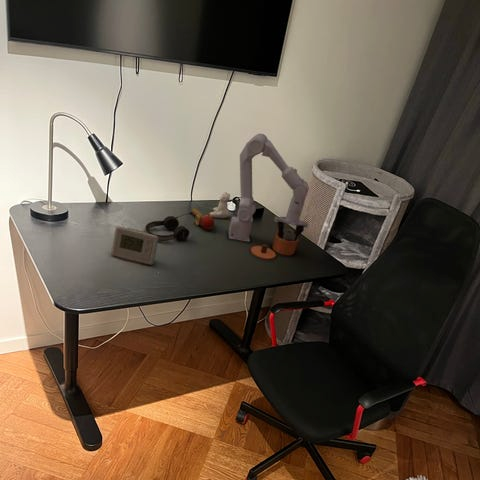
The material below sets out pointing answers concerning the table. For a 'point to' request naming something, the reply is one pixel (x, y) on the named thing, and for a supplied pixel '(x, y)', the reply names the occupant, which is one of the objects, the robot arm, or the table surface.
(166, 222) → the headset
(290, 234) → the dice cube
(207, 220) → the kendama
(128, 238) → the digital clock
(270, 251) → the lid
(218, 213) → the seated beast figurine
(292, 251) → the pot
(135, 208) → the table surface
